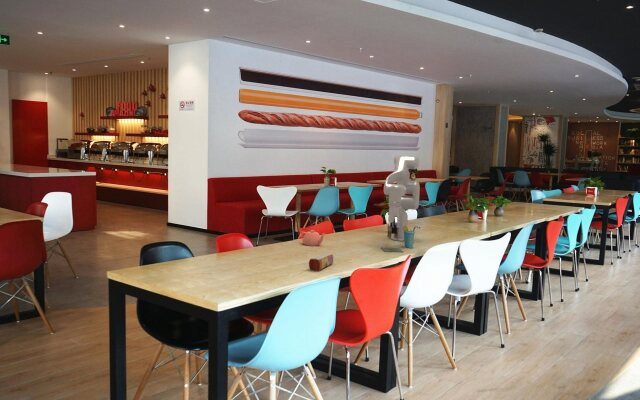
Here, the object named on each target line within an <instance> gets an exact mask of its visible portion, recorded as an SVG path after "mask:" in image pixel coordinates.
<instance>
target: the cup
mask: <svg viewBox="0 0 640 400" xmlns="http://www.w3.org/2000/svg"><path fill="white" fill-rule="evenodd" d="M416 228H418V229H421V227H420V226H418V225H414V227H413V230H409V227H408V225H407V226H406V225H405V226H403V232H404V241H403V244H404V245H403V246H404V248H405V249H412V248H413V245H414V239H415V234H416V231H415V230H416Z"/></svg>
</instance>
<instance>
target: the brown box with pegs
mask: <svg viewBox="0 0 640 400" xmlns="http://www.w3.org/2000/svg"><path fill="white" fill-rule="evenodd" d="M391 231H392V226H390V225H388V226H387V235H386V236H387V238H388V239H391V237H392V232H391ZM398 232H399V227H397V234H394V238H396V239H398Z"/></svg>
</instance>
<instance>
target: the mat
mask: <svg viewBox="0 0 640 400" xmlns="http://www.w3.org/2000/svg"><path fill="white" fill-rule="evenodd" d="M381 248H382V251H383V252H384V253H385V252H386V253H387V252H388V253H404V250H402V249H401V248H400V247H384V246H383V247H380V249H381Z"/></svg>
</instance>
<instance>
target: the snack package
mask: <svg viewBox="0 0 640 400" xmlns="http://www.w3.org/2000/svg"><path fill="white" fill-rule="evenodd" d="M332 264H334V254H332V253H330V252H324V253H322V254H319V255H317V256H315V257H312V258H310V259H309V261H308V267H309V270H310V271H315V272H319V271H321V270H323V269H325V268H326V267H329V266H331V265H332Z"/></svg>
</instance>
